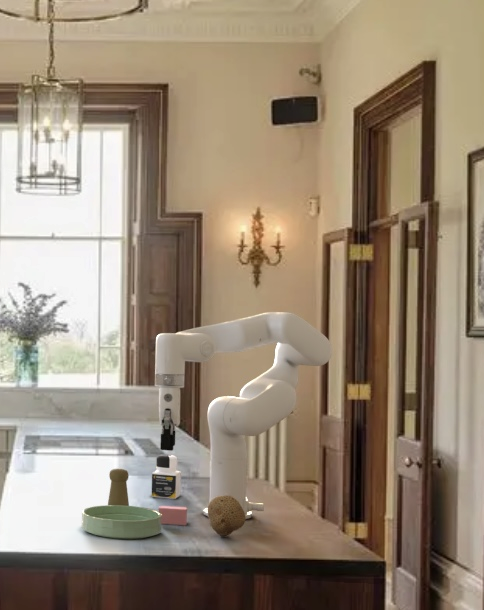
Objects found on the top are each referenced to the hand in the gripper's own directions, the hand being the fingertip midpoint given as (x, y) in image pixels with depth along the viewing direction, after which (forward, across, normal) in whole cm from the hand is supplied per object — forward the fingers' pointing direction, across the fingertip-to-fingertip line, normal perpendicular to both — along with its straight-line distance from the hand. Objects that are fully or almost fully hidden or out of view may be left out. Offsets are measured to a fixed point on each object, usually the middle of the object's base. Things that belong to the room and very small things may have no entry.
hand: (167, 447), depth 259 cm
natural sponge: (+19, -14, -15) cm, 28 cm away
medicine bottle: (+19, +36, +2) cm, 41 cm away
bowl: (+19, -15, +10) cm, 26 cm away
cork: (+19, +12, +13) cm, 26 cm away
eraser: (+19, -2, -2) cm, 19 cm away
